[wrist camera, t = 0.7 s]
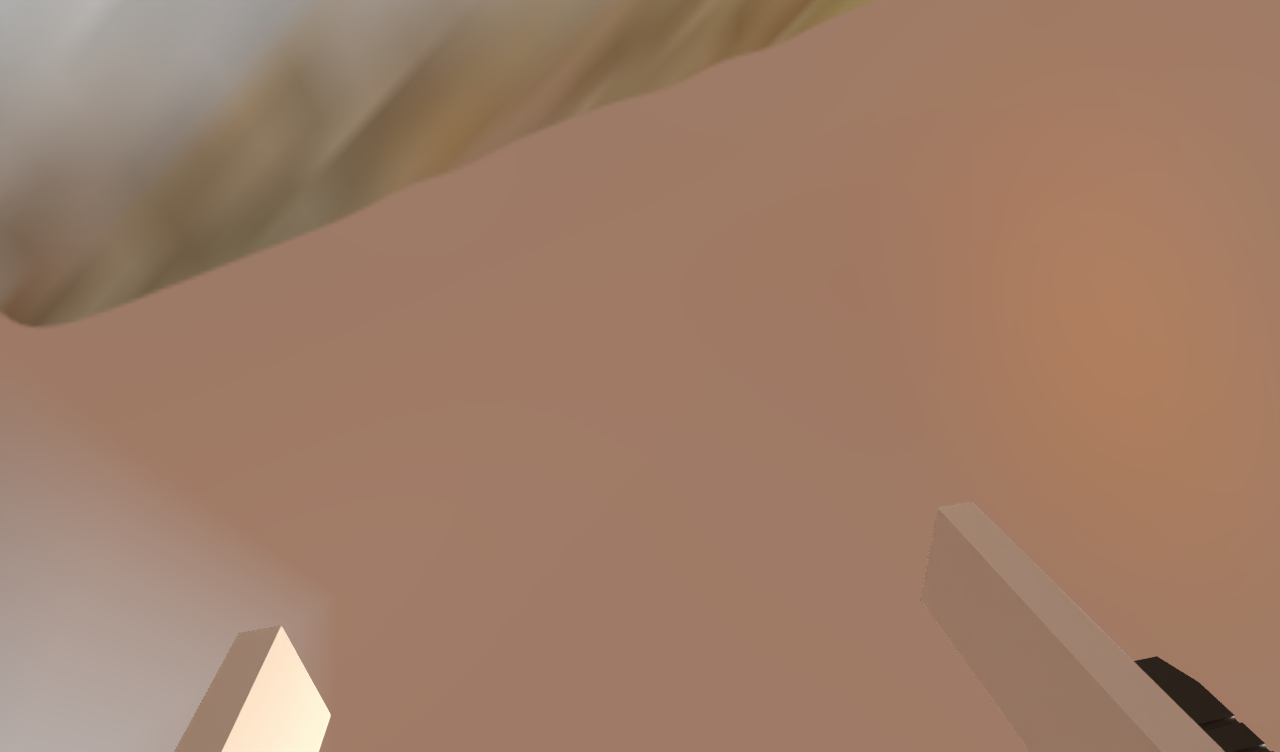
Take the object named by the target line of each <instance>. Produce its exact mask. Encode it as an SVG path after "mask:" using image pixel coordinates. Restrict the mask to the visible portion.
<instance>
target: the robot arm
mask: <svg viewBox="0 0 1280 752" xmlns="http://www.w3.org/2000/svg"><path fill="white" fill-rule="evenodd" d="M920 601H921V602H922V604H923V605H924V607H925V608H926V609H927V611H928V612H929V614H930V615H931V616H932V618H933V619H934V620H935V622H936V623H937V625H938V626H939V627H940V629H941V630H942V632H943V633H944V634H945V635H946V637H947V639H948V640H949V641H950V643H951V644H952V645H953V647H954V648H955V650H956V651H957V652H958V654H959V655H960V656H961V658H962V659H963V661H964V662H965V664H966V665H967V666H968V668H969V669H970V670H971V672H972V673H973V675H974V676H975V677H976V678H977V680H978V682H979V683H980V684H981V686H982V687H983V688H984V690H985V691H986V692H987V694H988V695H989V697H990V698H991V700H992V701H993V702H994V704H995V705H996V707H997V708H998V709H999V711H1000V712H1001V713H1002V715H1003V716H1004V718H1005V719H1006V720H1007V722H1008V723H1009V725H1010V726H1011V727H1012V729H1013V730H1014V731H1015V733H1016V734H1017V736H1018V737H1019V738H1020V740H1021V741H1022V742H1023V744H1024V745H1025V747H1026V748H1027V749H1028V751H1029V752H1271V751H1269V750H1268V749H1267V748H1266V746H1265V743H1264V742H1263V741H1262V740H1261V739H1260V738H1258V737H1257V736H1256V735H1255V734H1254V733H1253V732H1252V731H1251V730H1250V729H1249V728H1248V727H1246V726H1245V725H1244V724H1243V723H1239V722H1238V721H1237V720H1236V719H1235V715H1233V714H1232V713H1231V712H1230V711H1229V710H1228V709H1227V708H1226V707H1225V706H1224V705H1223V704H1222V703H1220V701H1218V700H1217V699H1216V698H1215V697H1214V696H1213V695H1212V694H1211V693H1210V692H1209V691H1208V690H1206V689H1205V688H1204V687H1203V686H1202V685H1201V684H1200V683H1199V682H1197V681H1196V680H1194V679H1193V678H1191V677H1189V676H1188V675H1186V674H1184V673H1183V672H1181V671H1180V670H1178V669H1176V668H1175V667H1173V666H1171V665H1170V664H1168V663H1167V662H1165V661H1163V660H1162V659H1160V658H1159V657H1152V658H1147V659H1142V660H1138V661H1133V660H1132V659H1131V658H1130V657H1129V656H1128V655H1127V654H1126V653H1125V652H1124V651H1123V650H1122V649H1121V648H1119V646H1118V645H1117V644H1116V643H1115V642H1114V641H1113V640H1112V639H1110V637H1109V636H1108V635H1107V634H1106V633H1105V632H1104V631H1102V629H1101V628H1099V626H1098V625H1097V624H1095V623H1094V622H1093V621H1092V620H1091V619H1090V618H1089V617H1088V616H1087V615H1086V614H1085V613H1084V612H1083V611H1082V610H1081V609H1080V608H1079V607H1078V606H1077V605H1076V604H1075V603H1074V602H1073V601H1072V600H1071V599H1070V598H1069V597H1068V596H1067V595H1066V594H1065V593H1064V592H1063V591H1062V590H1061V589H1060V588H1059V587H1058V586H1057V585H1056V584H1055V583H1054V582H1053V581H1052V580H1051V579H1050V578H1049V577H1048V576H1047V575H1046V574H1045V573H1044V572H1043V571H1042V570H1041V569H1040V568H1039V567H1038V566H1037V565H1036V564H1035V563H1034V562H1033V561H1032V560H1031V559H1030V558H1029V557H1028V556H1027V555H1026V554H1025V553H1024V552H1023V551H1022V550H1021V549H1020V548H1019V547H1018V546H1017V545H1016V544H1015V543H1014V542H1013V541H1012V540H1010V538H1009V537H1008V536H1007V535H1005V534H1004V533H1003V532H1002V530H1000V528H999V527H998V526H996V525H995V524H994V523H993V522H992V521H991V520H990V519H989V518H988V517H987V516H986V515H985V514H984V513H983V512H982V511H981V510H980V509H979V508H978V507H977V506H976V505H975V504H974V503H973V502H972V501H971V502H966V503H960V504H954V505H949V506H944V507H938V508H937V513H936V519H935V524H934V530H933V535H932V540H931V545H930V550H929V556H928V562H927V566H926V572H925V577H924V582H923V588H922V593H921V599H920ZM330 716H331V714H330V713H329V711H328V709H327V707H326V705H325V704H324V702H323V700H322V698H321V696H320V695H319V693H318V691H317V689H316V687H315V685H314V684H313V682H312V680H311V678H310V677H309V675H308V673H307V671H306V669H305V667H304V666H303V664H302V662H301V660H300V658H299V657H298V655H297V653H296V651H295V649H294V647H293V646H292V644H291V642H290V640H289V638H288V637H287V635H286V633H285V631H284V629H283V628H282V626H276V627H270V628H264V629H259V630H253V631H248V632H242V633H239V634H238V635H237V637H236V639H235V641H234V643H233V645H232V646H231V648H230V650H229V652H228V654H227V656H226V658H225V659H224V661H223V663H222V665H221V667H220V668H219V670H218V672H217V674H216V676H215V678H214V680H213V681H212V683H211V685H210V687H209V689H208V691H207V692H206V694H205V696H204V698H203V700H202V702H201V703H200V705H199V707H198V709H197V711H196V713H195V715H194V717H193V718H192V720H191V722H190V724H189V726H188V727H187V729H186V731H185V733H184V735H183V737H182V738H181V740H180V742H179V744H178V746H177V748H176V750H175V751H174V752H319V749H320V746H321V743H322V740H323V737H324V734H325V731H326V728H327V725H328V722H329V719H330ZM1272 752H1274V751H1272Z"/></svg>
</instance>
